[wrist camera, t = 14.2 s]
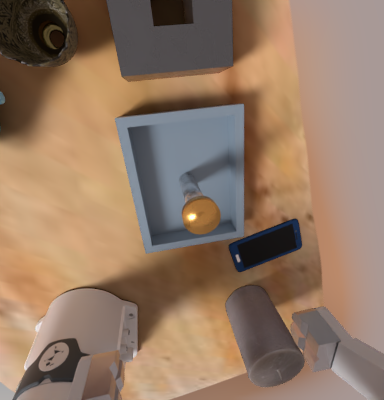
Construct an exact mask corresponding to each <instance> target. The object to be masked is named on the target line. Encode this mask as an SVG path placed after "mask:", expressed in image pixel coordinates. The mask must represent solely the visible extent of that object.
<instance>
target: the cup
mask: <svg viewBox="0 0 384 400" xmlns="http://www.w3.org/2000/svg"><path fill="white" fill-rule="evenodd" d="M55 30H57V31H60V32H61V33H62V34H63V35H64V43H63V45H62V46H61V47H56V46H54V45H53V44H52V42H51V40H50V34H51V32H52V31H55ZM77 44H78V35H77V29H76V25H75V22H74V20H73V17H72V15H71V13H70V11H69V9H68V8H67V6H66V4H65V3H64V1H63V0H0V53H1V55H2V56H4V57H5V58H8V59H12V60H16V61H18V62H20V63H22V64H26V65H28V66H40V67H54V66H59V65H62V64H64V63H66V62H68V61H69V60H70V59H71V58H72V57H73V55H74V54H75V52H76V49H77Z"/></svg>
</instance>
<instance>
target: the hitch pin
mask: <svg viewBox="0 0 384 400" xmlns="http://www.w3.org/2000/svg"><path fill="white" fill-rule="evenodd" d="M179 183H180V186H181V190H182V193H183V196H184V200H185V205H184V206H183V209H182V219H183V223H184V226H185V228H186V229H187V230H188V231H190V232H191V233H194V234H206V233H209V232H211V231H213V230H214V229H215V228H216V227H217V226H218V224H219V222H220V219H221V213H220V210H219V208H218V206H217V204H216V203H215V201H214V200H212V199H211V198H209V197H207V196H204V195H203V194H202V192H201V190H200V188H199V186H198V184H197V182H196V180H195V178H194V176H193V175H192V174H191V173H184V174H182V175H181V176H180V178H179Z"/></svg>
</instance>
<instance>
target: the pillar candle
mask: <svg viewBox="0 0 384 400" xmlns="http://www.w3.org/2000/svg"><path fill="white" fill-rule="evenodd" d="M225 307H226V312H227V315H228V317H229V320H230V323H231V326H232V329H233V332H234V335H235V338H236V341H237V344H238V347H239V349H240V352H241V355H242V358H243V361H244V363H245V367H246V370H247V372H248V377H249V378H250V380H251V382H252V383H254V384H255V385H257V386H260V387H273V386H277V385H280V384H283V383H285V382H287V381H289V380H291V379H292V378H293V377H295V376H296V375H297V374H298V373H299V372H300V371H301V369H302V368H303V366H304V362H305V361H304V360H305V359H304V357H303V355H302V353H301V351H300V349H299V348H298V346H297V345H296V343H295V341H294V339H293V337H292V336H291V334H290V332H289V330H288V329H287V327H286V325H285V324H284V322H283V320H282V318H281V317H280V315H279V313H278V312H277V310H276V308H275V306H274V305H273V303H272V301H271V300H270V298H269V296H268V295H267V293H266V291H265V290H264V289H263V288H261V287H259V286H255V285H249V286H244V287H241V288H239V289H237V290H235V291H234V292H233V293H232V294H231V296H230V297H229V298H228V300H227V301H226V305H225Z"/></svg>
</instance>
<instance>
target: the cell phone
mask: <svg viewBox="0 0 384 400" xmlns="http://www.w3.org/2000/svg"><path fill="white" fill-rule="evenodd" d="M301 247H302V241H301V235H300V229H299V223H298V220H297V219H292V220H289V221H286V222H284V223H281V224H279V225H276V226H274V227H271V228H269V229H266V230H264V231H261V232H259V233H256V234H253V235H251V236H248V237H246V238H243V239H241V240H238V241H236V242H233V243H231V244H230V245H229V250H230V253H231V255H232V258H233V261H234V264H235V267H236V269H237V271H238V272H242V271H245V270H247V269H250V268H253V267H255V266H258V265H260V264H263V263H265V262H268V261H270V260H273V259H276V258H278V257H281V256H283V255H286V254H288V253H291V252H293V251H296V250H298V249H300V248H301Z"/></svg>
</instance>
